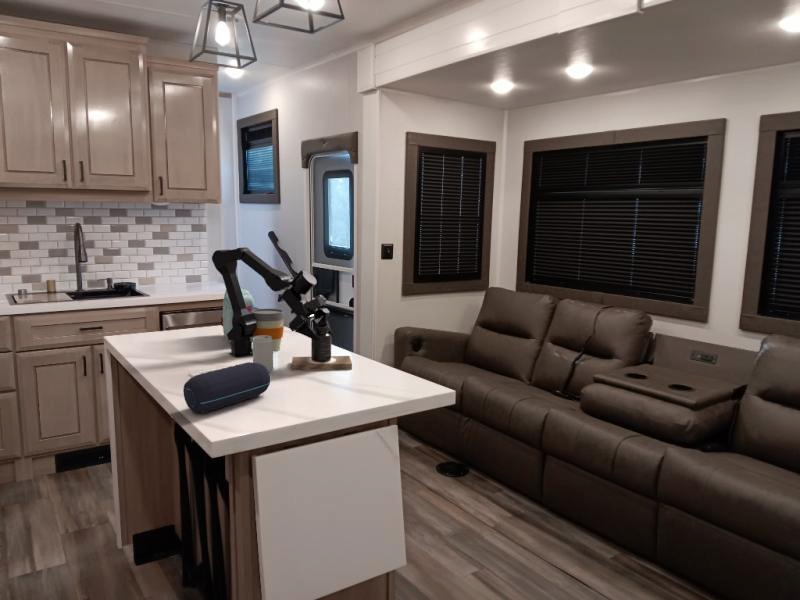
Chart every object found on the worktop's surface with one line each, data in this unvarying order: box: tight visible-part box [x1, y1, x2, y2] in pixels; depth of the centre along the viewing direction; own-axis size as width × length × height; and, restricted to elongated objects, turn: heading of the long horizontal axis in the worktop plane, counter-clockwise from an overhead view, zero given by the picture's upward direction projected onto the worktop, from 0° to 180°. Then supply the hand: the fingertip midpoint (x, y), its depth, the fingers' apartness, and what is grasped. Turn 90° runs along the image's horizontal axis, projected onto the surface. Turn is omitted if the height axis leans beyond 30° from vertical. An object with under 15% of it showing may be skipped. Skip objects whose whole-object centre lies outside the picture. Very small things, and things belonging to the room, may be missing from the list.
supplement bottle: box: [310, 324, 332, 362], centre depth 200 cm, size 7×7×12 cm
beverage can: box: [252, 335, 274, 374], centre depth 191 cm, size 6×6×12 cm
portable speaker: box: [182, 361, 271, 414], centre depth 159 cm, size 25×10×10 cm, turn 145°
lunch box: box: [220, 286, 255, 344], centre depth 238 cm, size 27×10×21 cm, turn 25°
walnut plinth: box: [291, 355, 353, 371], centre depth 201 cm, size 20×11×2 cm, turn 99°
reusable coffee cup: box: [251, 308, 286, 352], centre depth 222 cm, size 13×13×15 cm
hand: (324, 337), depth 199 cm, fingers open, 9 cm apart
